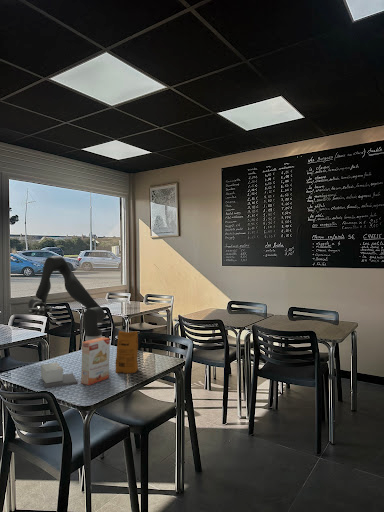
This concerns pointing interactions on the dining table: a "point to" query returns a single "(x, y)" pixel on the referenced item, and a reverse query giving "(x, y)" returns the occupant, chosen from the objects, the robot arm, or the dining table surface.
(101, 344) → the cracker box
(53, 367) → the small box
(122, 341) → the coffee package
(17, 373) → the dining table surface
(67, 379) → the mat
